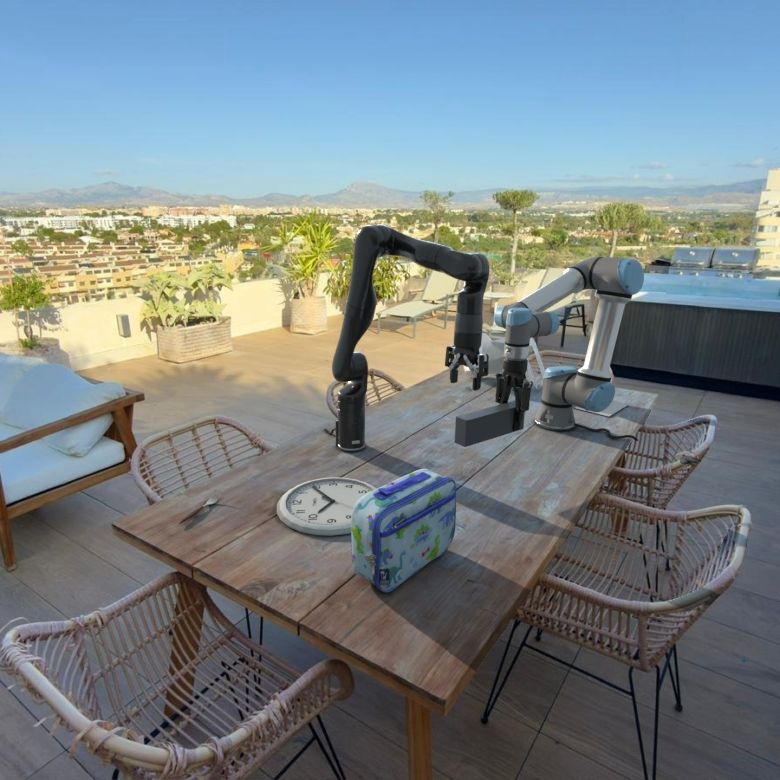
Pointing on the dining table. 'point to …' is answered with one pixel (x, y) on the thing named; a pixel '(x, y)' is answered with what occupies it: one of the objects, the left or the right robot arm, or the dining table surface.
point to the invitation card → (609, 409)
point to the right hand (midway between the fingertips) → (509, 427)
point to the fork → (209, 502)
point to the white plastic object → (497, 355)
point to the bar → (485, 424)
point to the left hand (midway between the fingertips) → (464, 386)
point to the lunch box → (402, 527)
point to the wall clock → (322, 505)
